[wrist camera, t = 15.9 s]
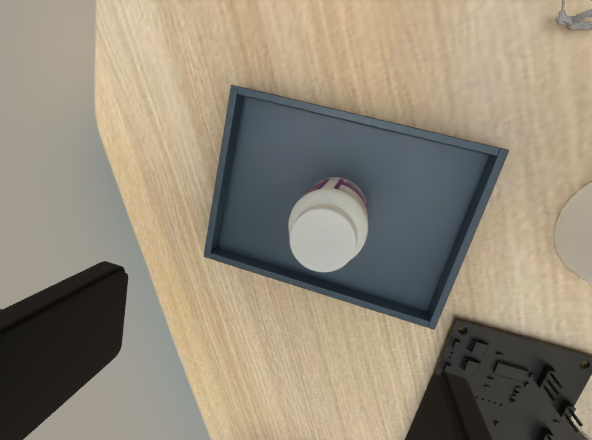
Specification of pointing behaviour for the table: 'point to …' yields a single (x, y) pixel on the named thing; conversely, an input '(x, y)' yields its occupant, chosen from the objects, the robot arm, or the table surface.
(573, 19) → the eyeglasses
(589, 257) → the base with upright slab
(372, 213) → the tray
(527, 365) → the circuit board
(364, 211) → the pill bottle
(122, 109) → the table surface
